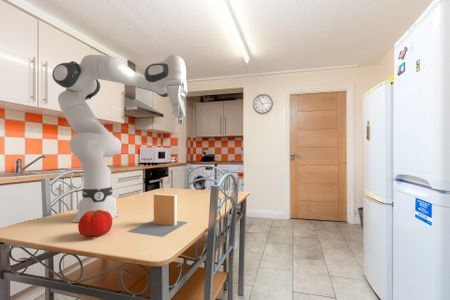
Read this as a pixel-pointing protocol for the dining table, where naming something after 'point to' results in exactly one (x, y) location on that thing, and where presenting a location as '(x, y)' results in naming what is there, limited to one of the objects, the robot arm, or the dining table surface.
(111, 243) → the dining table surface
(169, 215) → the tile
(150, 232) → the mat
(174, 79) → the robot arm
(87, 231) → the tomato
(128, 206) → the dining table surface
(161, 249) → the dining table surface
